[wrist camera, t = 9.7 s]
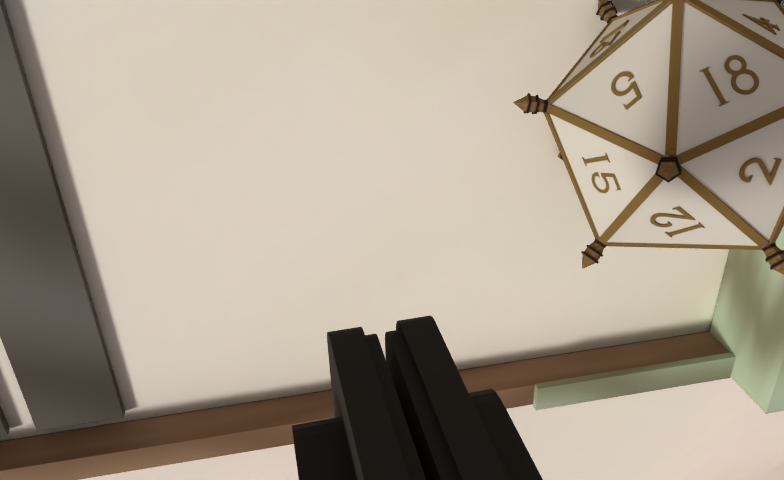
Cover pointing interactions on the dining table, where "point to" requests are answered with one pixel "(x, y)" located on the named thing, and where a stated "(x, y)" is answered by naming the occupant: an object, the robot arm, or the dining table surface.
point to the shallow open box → (276, 416)
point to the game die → (677, 127)
